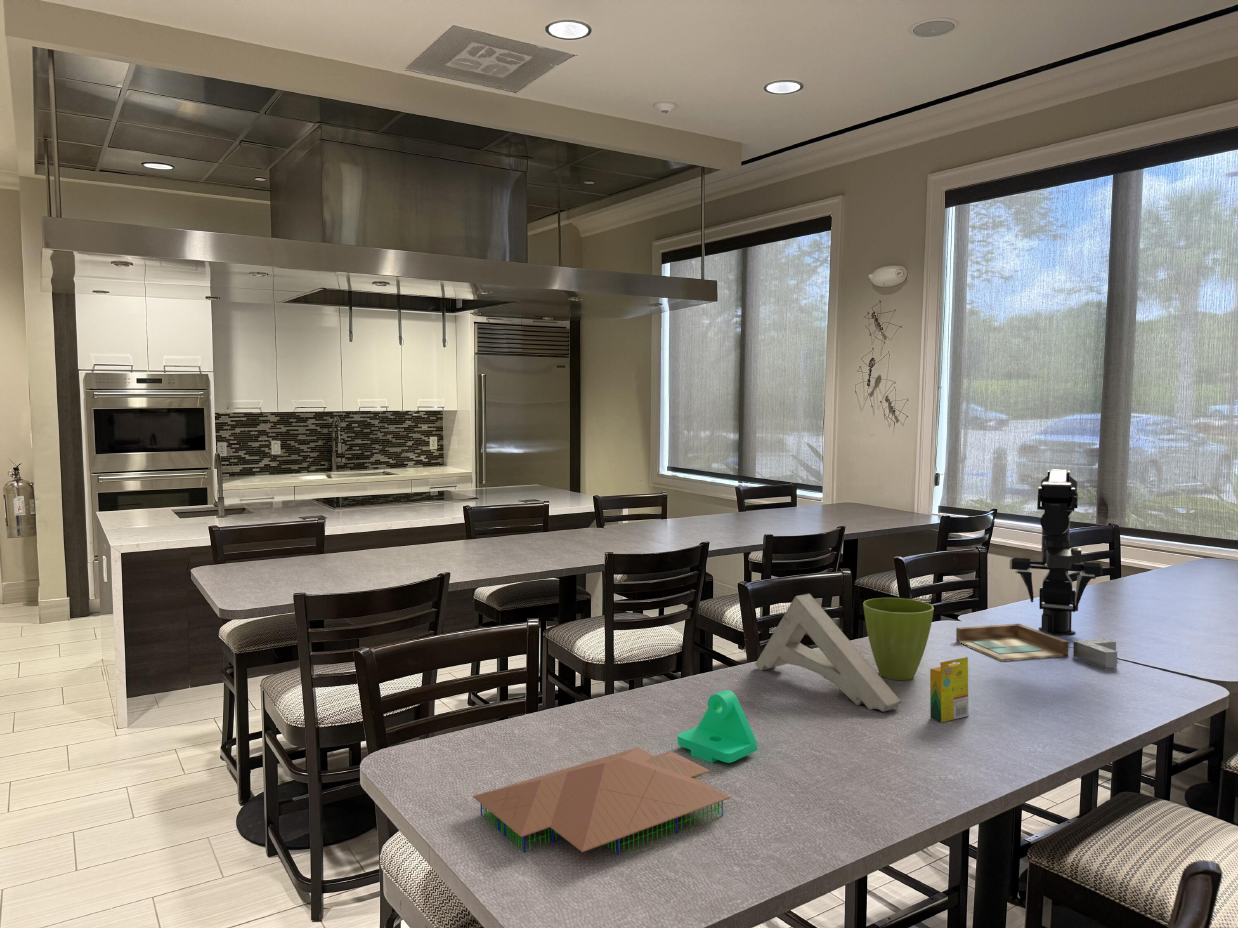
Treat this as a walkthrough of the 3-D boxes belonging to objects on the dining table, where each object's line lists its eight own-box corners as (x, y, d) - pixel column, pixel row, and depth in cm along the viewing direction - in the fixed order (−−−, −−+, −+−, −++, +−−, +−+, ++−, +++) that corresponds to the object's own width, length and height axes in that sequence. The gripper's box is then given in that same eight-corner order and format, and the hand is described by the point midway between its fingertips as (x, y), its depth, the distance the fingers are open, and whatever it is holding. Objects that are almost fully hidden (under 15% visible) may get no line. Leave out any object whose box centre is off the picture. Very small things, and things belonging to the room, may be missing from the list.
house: (744, 813, 124) (744, 759, 124) (552, 887, 105) (551, 824, 105) (651, 762, 143) (650, 715, 142) (473, 817, 124) (472, 763, 123)
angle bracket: (1073, 657, 200) (1073, 640, 200) (1106, 654, 202) (1106, 638, 201) (1105, 669, 190) (1105, 652, 190) (1139, 666, 192) (1139, 649, 192)
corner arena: (1018, 637, 218) (1018, 623, 218) (1068, 656, 201) (1068, 641, 200) (956, 641, 215) (956, 627, 215) (1001, 661, 197) (1001, 646, 197)
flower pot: (947, 677, 186) (948, 606, 185) (904, 690, 177) (905, 615, 176) (891, 661, 198) (891, 594, 197) (848, 673, 190) (849, 603, 189)
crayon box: (957, 711, 164) (957, 653, 164) (969, 716, 162) (970, 657, 161) (929, 718, 161) (929, 658, 160) (941, 723, 158) (941, 662, 158)
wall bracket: (836, 773, 174) (755, 663, 194) (850, 768, 177) (769, 660, 196) (886, 705, 163) (795, 596, 182) (901, 701, 165) (809, 593, 185)
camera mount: (675, 750, 148) (674, 692, 147) (703, 738, 153) (702, 682, 152) (729, 769, 139) (728, 709, 138) (756, 756, 144) (756, 697, 144)
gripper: (1014, 533, 191) (1013, 602, 189) (1108, 538, 184) (1107, 609, 183) (1010, 534, 201) (1008, 599, 200) (1098, 539, 195) (1097, 606, 193)
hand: (1054, 603), depth 194 cm, fingers open, 9 cm apart
